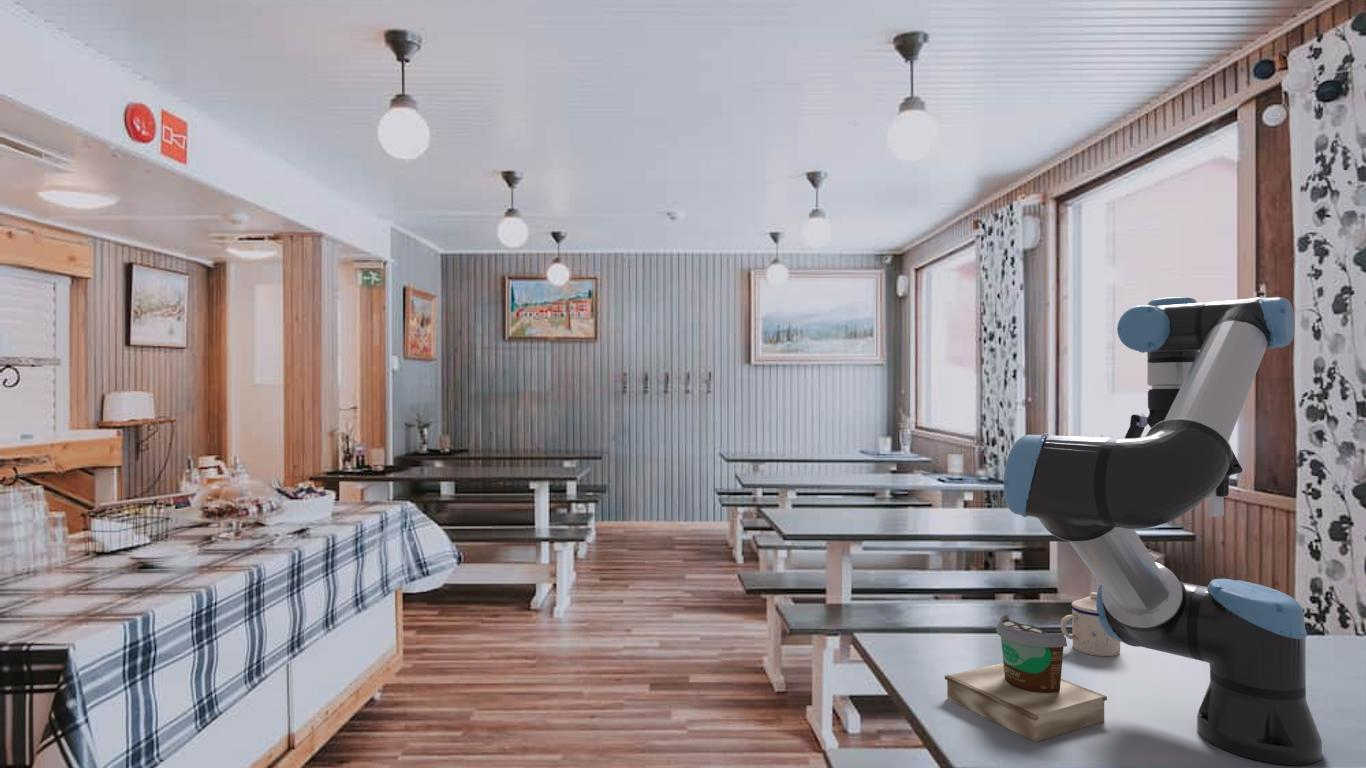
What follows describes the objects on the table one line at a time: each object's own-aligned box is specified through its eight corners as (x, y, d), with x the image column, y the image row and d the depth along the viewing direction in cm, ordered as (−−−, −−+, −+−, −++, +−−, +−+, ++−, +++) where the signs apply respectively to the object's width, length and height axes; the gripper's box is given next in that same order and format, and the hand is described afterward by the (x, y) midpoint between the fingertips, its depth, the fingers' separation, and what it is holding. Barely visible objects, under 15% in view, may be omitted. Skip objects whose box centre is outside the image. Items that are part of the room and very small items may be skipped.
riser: (1107, 721, 122) (1106, 696, 122) (1034, 742, 115) (1034, 716, 115) (1013, 681, 139) (1013, 659, 139) (944, 698, 132) (944, 675, 132)
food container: (980, 675, 132) (980, 618, 132) (1006, 669, 134) (1005, 613, 134) (1041, 702, 120) (1040, 639, 120) (1067, 695, 123) (1067, 633, 123)
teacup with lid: (1102, 641, 160) (1102, 586, 160) (1131, 656, 151) (1131, 598, 151) (1049, 643, 159) (1048, 588, 159) (1075, 659, 150) (1074, 600, 150)
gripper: (1266, 387, 121) (1268, 519, 121) (1118, 387, 144) (1119, 499, 144) (1239, 387, 118) (1241, 523, 118) (1092, 388, 141) (1093, 502, 140)
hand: (1174, 510), depth 131 cm, fingers open, 13 cm apart
